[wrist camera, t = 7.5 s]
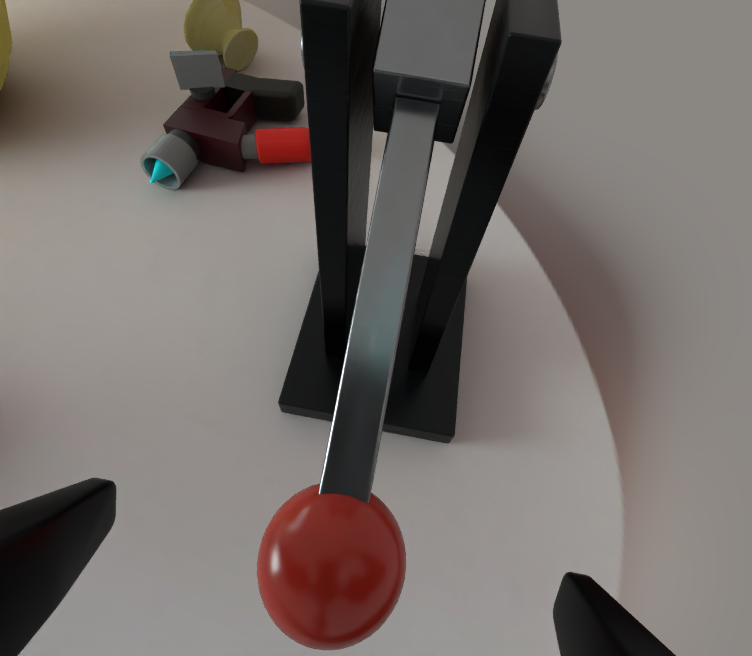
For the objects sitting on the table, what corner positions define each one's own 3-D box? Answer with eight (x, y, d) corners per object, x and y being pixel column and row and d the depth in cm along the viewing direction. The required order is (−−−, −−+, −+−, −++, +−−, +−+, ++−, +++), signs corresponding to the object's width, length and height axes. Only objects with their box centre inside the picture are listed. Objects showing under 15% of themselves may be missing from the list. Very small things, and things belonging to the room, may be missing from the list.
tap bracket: (449, 444, 20) (671, 150, 6) (280, 412, 20) (156, 64, 7) (463, 276, 25) (604, -84, 12) (328, 252, 25) (313, -128, 12)
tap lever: (389, 610, 11) (394, 709, 8) (265, 585, 11) (218, 671, 8) (483, 64, 12) (519, -44, 9) (374, 46, 12) (371, -66, 9)
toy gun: (132, 193, 27) (94, 121, 23) (223, 90, 33) (205, 18, 29) (279, 234, 26) (267, 167, 22) (343, 120, 32) (344, 51, 28)
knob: (185, 62, 34) (162, -12, 30) (235, 40, 37) (221, -33, 32) (223, 87, 33) (206, 13, 29) (274, 62, 35) (265, -10, 31)
